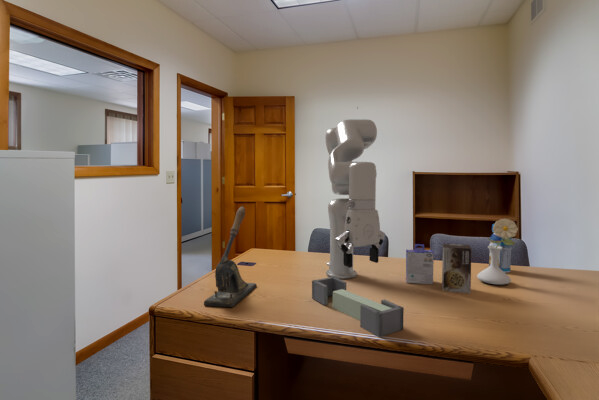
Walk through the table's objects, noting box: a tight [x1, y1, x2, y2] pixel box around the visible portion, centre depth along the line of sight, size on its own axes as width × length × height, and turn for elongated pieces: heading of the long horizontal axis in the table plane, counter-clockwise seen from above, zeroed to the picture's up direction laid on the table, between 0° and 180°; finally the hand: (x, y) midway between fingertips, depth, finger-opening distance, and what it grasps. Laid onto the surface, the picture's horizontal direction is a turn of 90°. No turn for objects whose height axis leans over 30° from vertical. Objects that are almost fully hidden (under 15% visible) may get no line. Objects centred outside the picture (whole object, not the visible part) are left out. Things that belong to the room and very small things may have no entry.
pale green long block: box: [332, 289, 392, 321], centre depth 101 cm, size 20×4×6 cm, turn 37°
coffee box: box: [441, 243, 472, 294], centre depth 124 cm, size 9×6×16 cm
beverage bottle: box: [488, 223, 513, 274], centre depth 149 cm, size 8×8×20 cm
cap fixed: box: [359, 298, 405, 338], centre depth 94 cm, size 7×9×6 cm
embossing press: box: [203, 205, 257, 308], centre depth 119 cm, size 11×24×30 cm, turn 165°
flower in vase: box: [476, 218, 519, 286], centre depth 132 cm, size 13×11×25 cm
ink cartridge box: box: [405, 243, 435, 285], centre depth 134 cm, size 10×6×14 cm, turn 78°
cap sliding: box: [311, 276, 347, 306], centre depth 115 cm, size 7×9×6 cm
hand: (361, 264), depth 101 cm, fingers open, 9 cm apart
